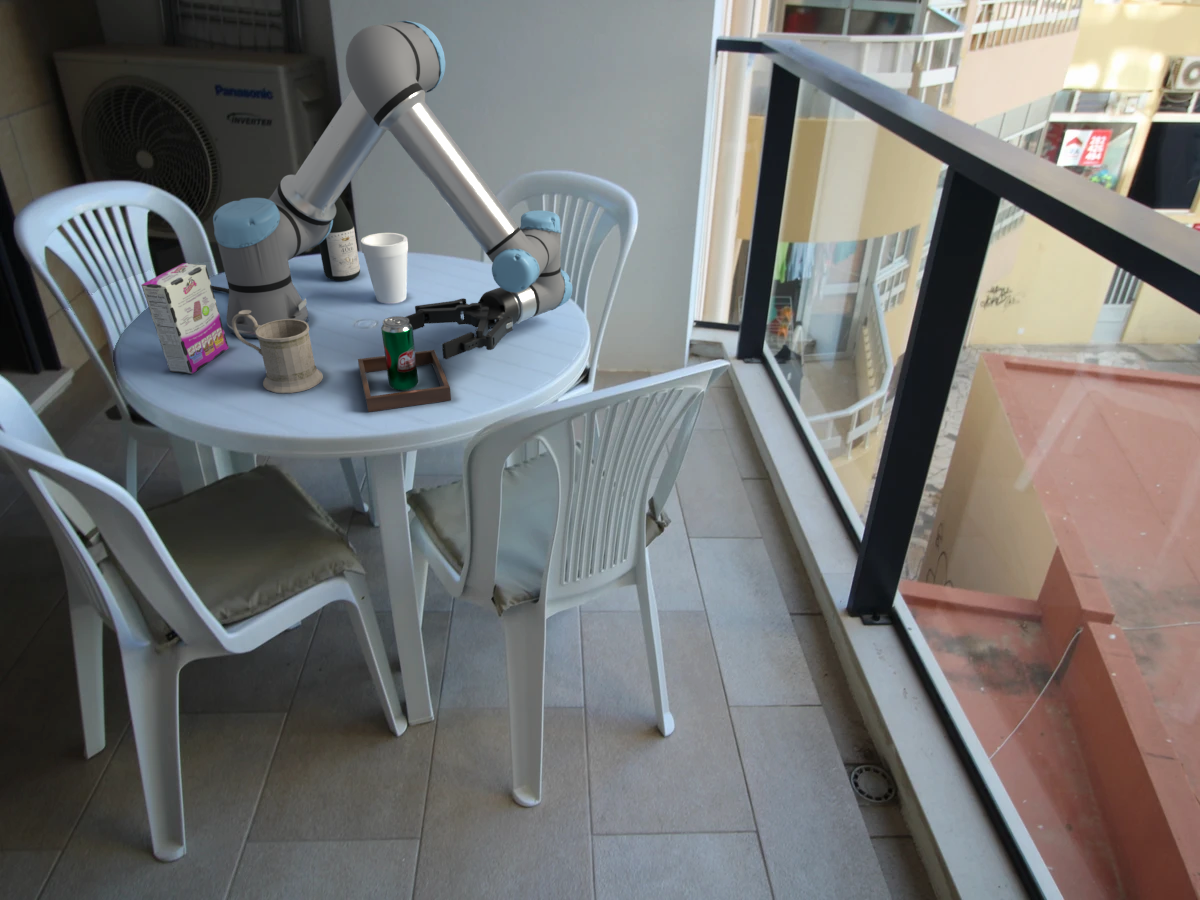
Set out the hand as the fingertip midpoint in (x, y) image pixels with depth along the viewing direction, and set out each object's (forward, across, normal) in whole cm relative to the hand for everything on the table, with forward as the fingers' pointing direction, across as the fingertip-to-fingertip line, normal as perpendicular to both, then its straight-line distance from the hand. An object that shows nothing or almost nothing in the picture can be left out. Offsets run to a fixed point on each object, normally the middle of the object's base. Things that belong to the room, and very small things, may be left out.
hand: (417, 340), depth 133 cm
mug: (+17, +18, -8) cm, 26 cm away
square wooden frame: (+4, 0, -7) cm, 8 cm away
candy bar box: (+23, +35, -8) cm, 43 cm away
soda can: (+4, 0, -8) cm, 8 cm away
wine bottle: (-21, +54, -8) cm, 58 cm away
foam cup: (-20, +35, -8) cm, 41 cm away
